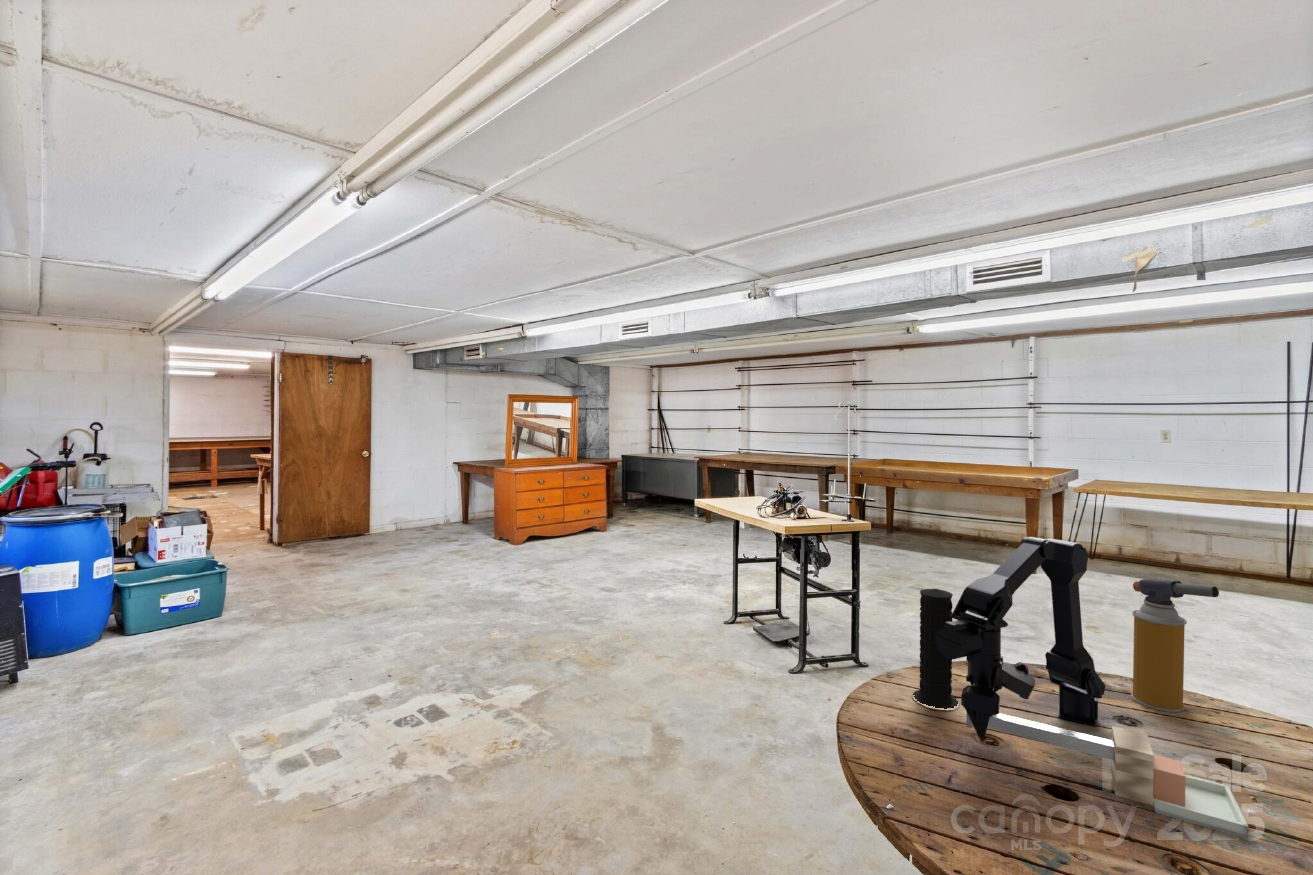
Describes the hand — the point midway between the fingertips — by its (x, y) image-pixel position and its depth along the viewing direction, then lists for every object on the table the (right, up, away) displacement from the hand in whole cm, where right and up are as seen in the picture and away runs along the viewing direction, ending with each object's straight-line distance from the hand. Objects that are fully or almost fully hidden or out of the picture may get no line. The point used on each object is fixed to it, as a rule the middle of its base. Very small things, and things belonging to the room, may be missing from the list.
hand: (983, 726), depth 115 cm
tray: (+26, -5, -17) cm, 31 cm away
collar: (+23, -4, -15) cm, 28 cm away
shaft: (+8, 0, -6) cm, 10 cm away
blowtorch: (+51, -4, +15) cm, 53 cm away
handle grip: (0, -4, +20) cm, 20 cm away
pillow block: (+19, -4, -13) cm, 23 cm away
